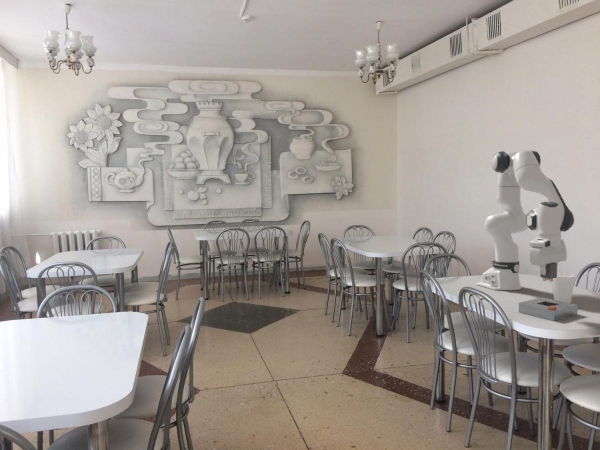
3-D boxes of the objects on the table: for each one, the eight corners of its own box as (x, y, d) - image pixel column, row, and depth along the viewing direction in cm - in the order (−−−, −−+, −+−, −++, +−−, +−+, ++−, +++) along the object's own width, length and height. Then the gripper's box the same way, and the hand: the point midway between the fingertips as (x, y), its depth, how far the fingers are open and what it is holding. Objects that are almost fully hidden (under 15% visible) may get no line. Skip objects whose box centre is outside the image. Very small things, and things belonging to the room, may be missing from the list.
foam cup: (564, 306, 213) (564, 277, 212) (546, 302, 221) (546, 274, 220) (579, 303, 217) (579, 275, 216) (560, 299, 225) (561, 272, 224)
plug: (540, 280, 203) (540, 263, 203) (546, 279, 206) (547, 262, 205) (550, 282, 200) (550, 264, 199) (556, 281, 202) (557, 263, 201)
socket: (518, 312, 207) (518, 300, 207) (541, 306, 215) (542, 295, 215) (554, 320, 193) (554, 308, 193) (577, 314, 201) (577, 302, 201)
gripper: (556, 238, 209) (556, 269, 210) (526, 242, 199) (526, 275, 200) (571, 239, 204) (570, 271, 205) (540, 243, 194) (540, 277, 195)
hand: (548, 273), depth 202 cm, fingers closed on plug, 4 cm apart
